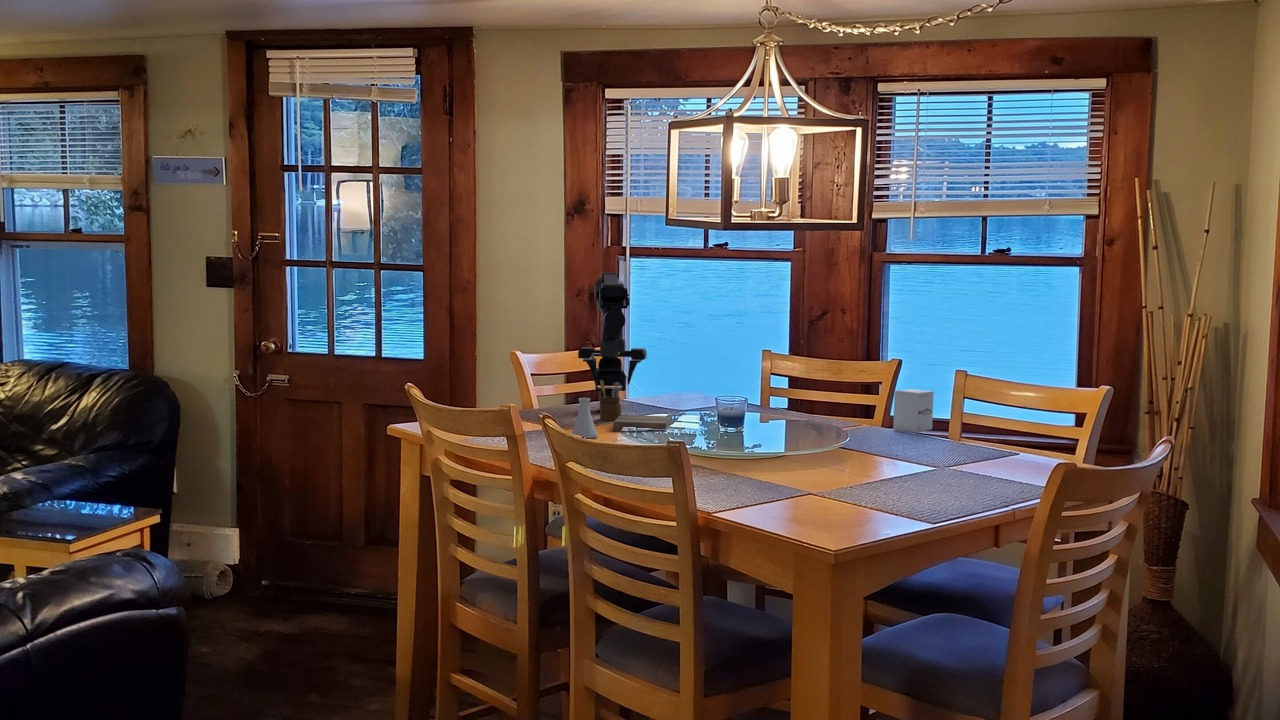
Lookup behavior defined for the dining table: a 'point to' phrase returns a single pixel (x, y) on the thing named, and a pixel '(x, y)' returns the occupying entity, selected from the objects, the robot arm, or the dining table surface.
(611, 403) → the utensil holder
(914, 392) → the supplement box
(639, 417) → the walnut plinth
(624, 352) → the robot arm
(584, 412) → the flask
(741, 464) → the dining table surface
